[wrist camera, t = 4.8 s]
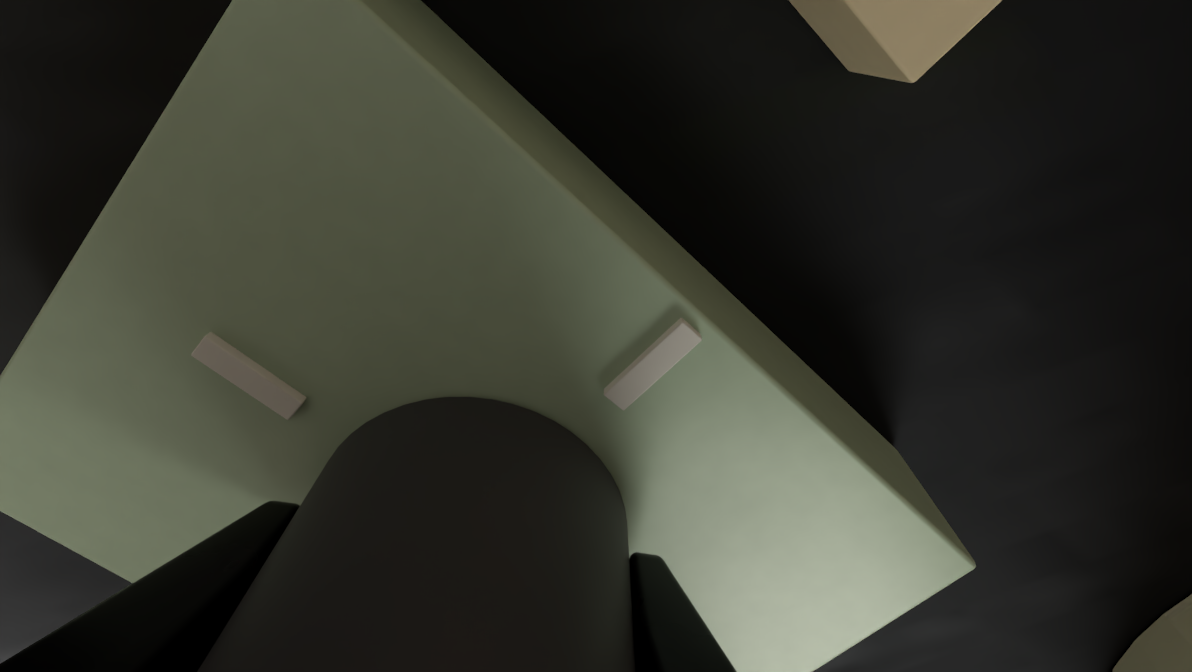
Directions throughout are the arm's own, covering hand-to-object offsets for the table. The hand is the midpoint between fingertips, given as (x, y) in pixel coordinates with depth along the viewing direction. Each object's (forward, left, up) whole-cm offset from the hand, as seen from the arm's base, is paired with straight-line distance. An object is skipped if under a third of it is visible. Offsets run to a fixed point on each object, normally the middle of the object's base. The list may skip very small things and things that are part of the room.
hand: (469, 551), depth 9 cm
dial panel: (0, 0, -4) cm, 4 cm away
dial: (0, 0, 0) cm, 0 cm away
